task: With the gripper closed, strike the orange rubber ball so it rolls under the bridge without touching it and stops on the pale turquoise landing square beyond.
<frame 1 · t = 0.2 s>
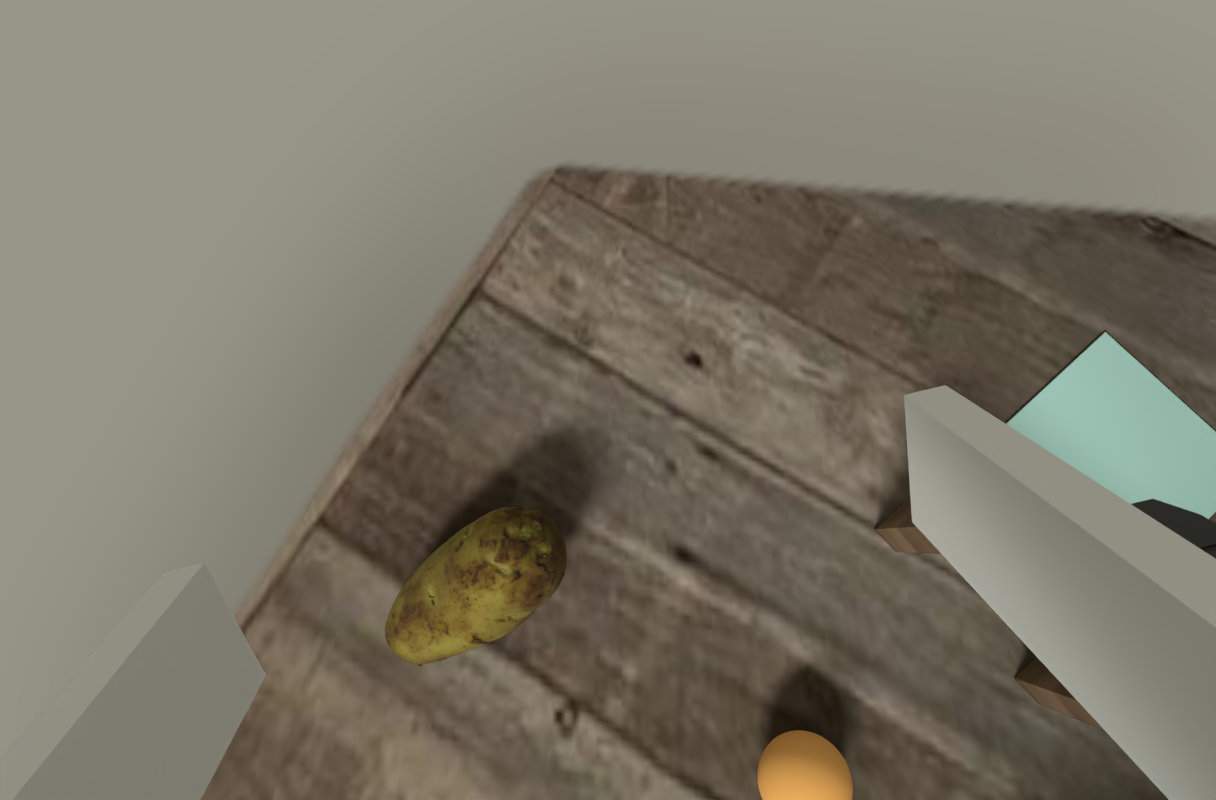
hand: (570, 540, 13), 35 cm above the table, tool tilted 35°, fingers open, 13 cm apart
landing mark: (1113, 460, 46), on the table
bridge: (969, 598, 45), on the table
potato: (487, 580, 47), on the table
ball: (804, 780, 41), on the table
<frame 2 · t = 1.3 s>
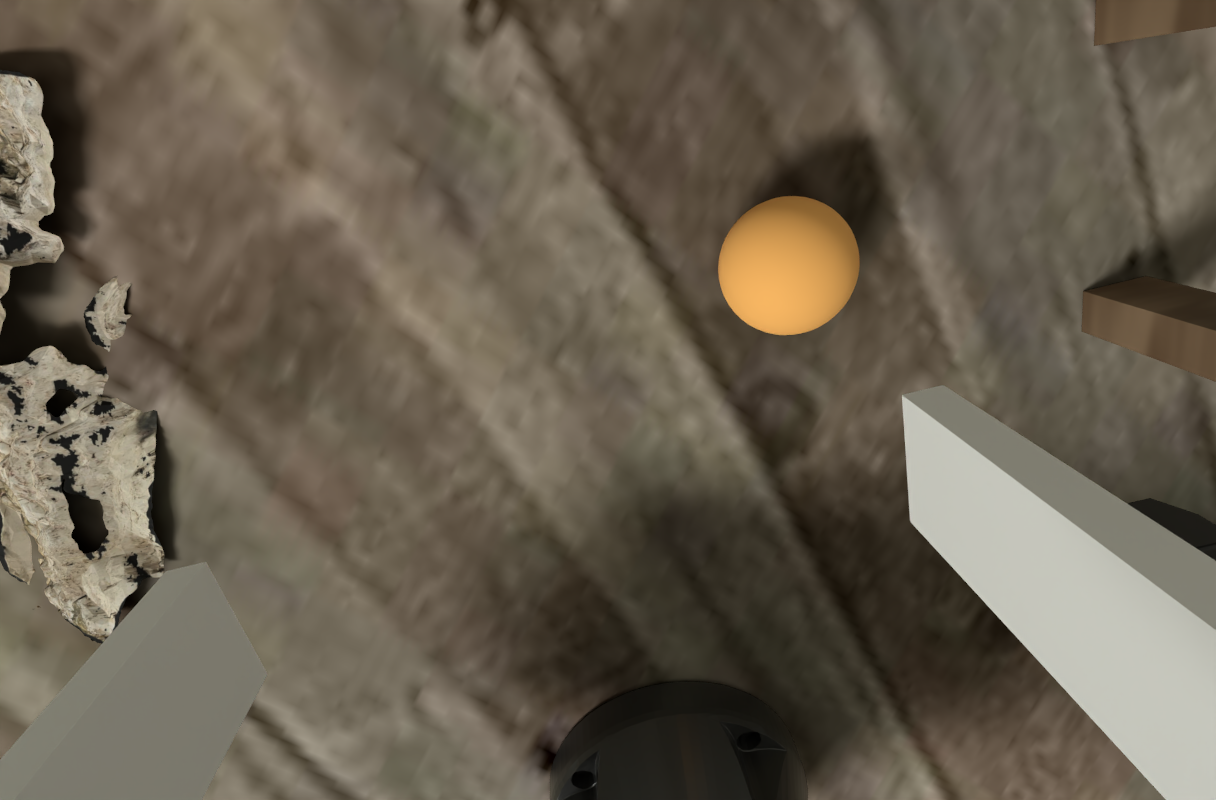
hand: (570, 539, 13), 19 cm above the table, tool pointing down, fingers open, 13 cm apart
bridge: (1121, 168, 30), on the table
driftwood: (68, 379, 30), on the table
ball: (787, 266, 27), on the table
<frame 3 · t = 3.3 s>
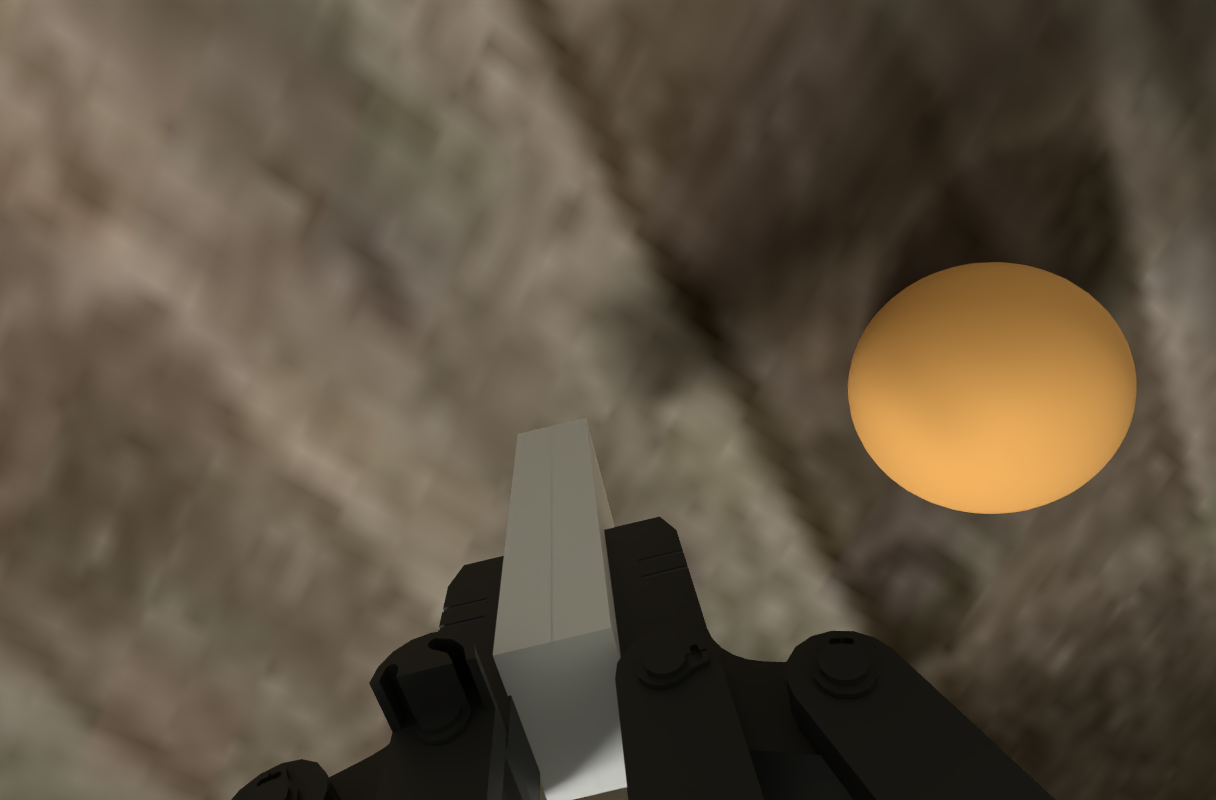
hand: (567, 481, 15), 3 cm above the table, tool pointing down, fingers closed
ball: (979, 388, 15), on the table
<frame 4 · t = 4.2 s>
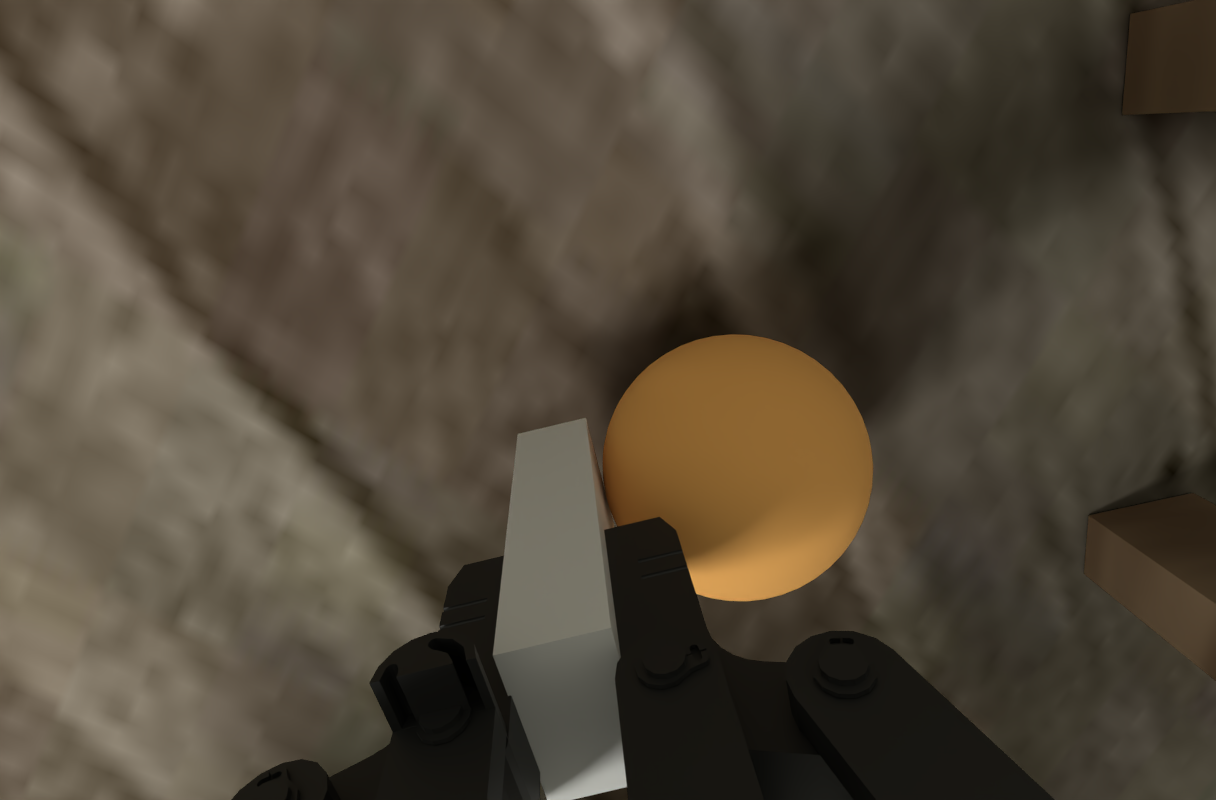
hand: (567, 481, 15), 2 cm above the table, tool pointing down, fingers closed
bridge: (1161, 325, 17), on the table
ball: (732, 465, 14), on the table
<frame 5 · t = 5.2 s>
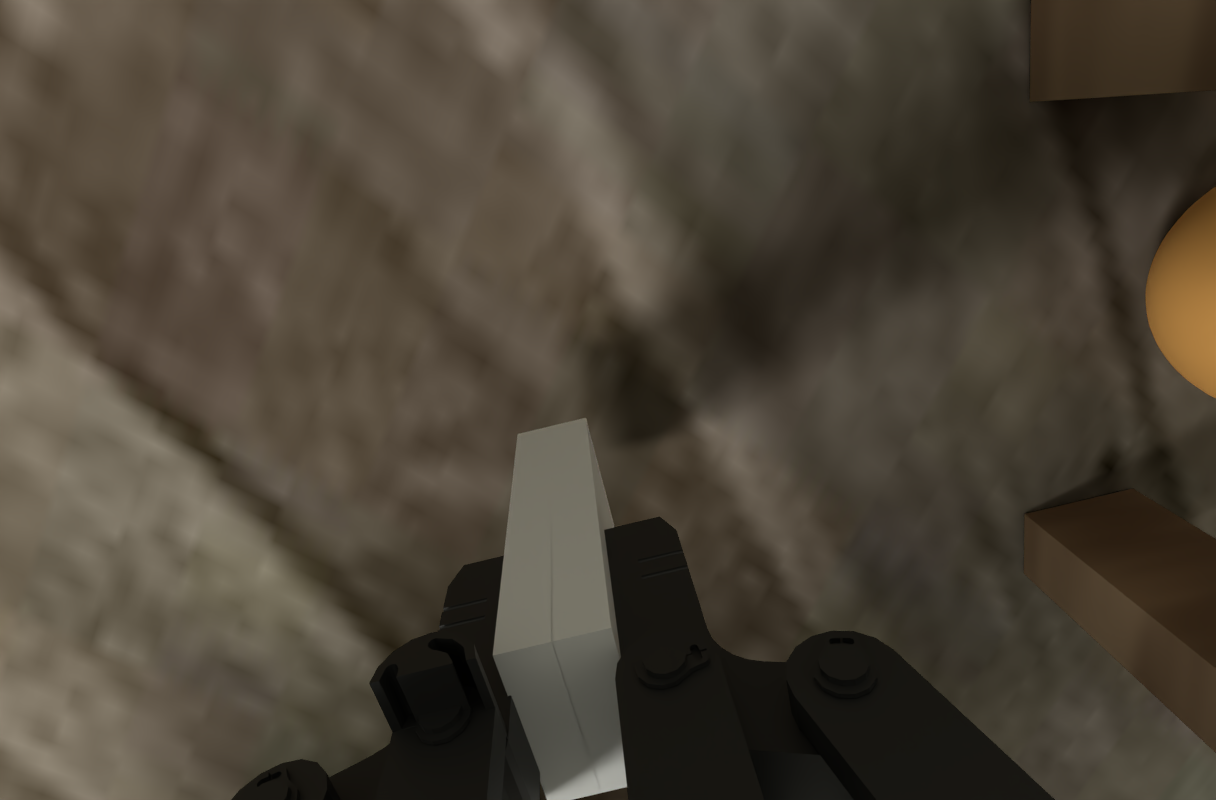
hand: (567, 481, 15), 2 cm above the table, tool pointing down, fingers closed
bridge: (1087, 318, 16), on the table
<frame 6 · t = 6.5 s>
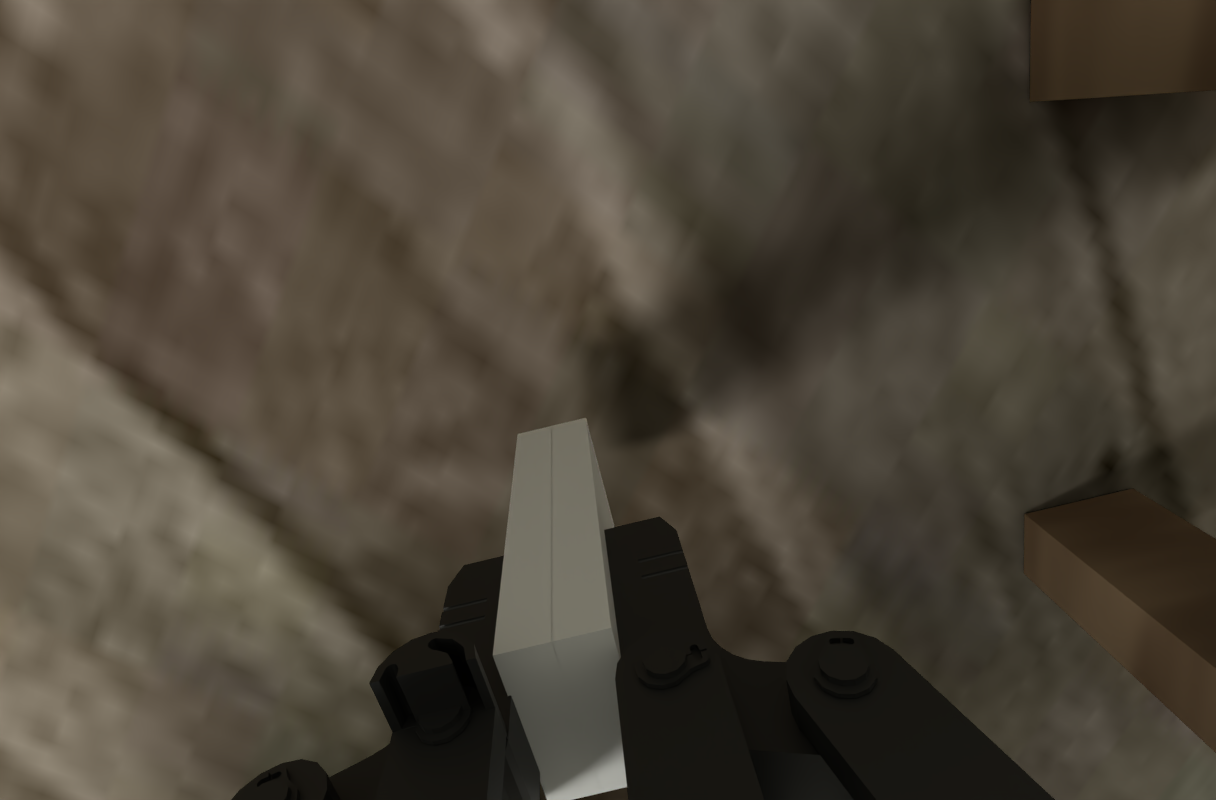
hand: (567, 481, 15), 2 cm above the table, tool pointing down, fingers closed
bridge: (1087, 318, 16), on the table
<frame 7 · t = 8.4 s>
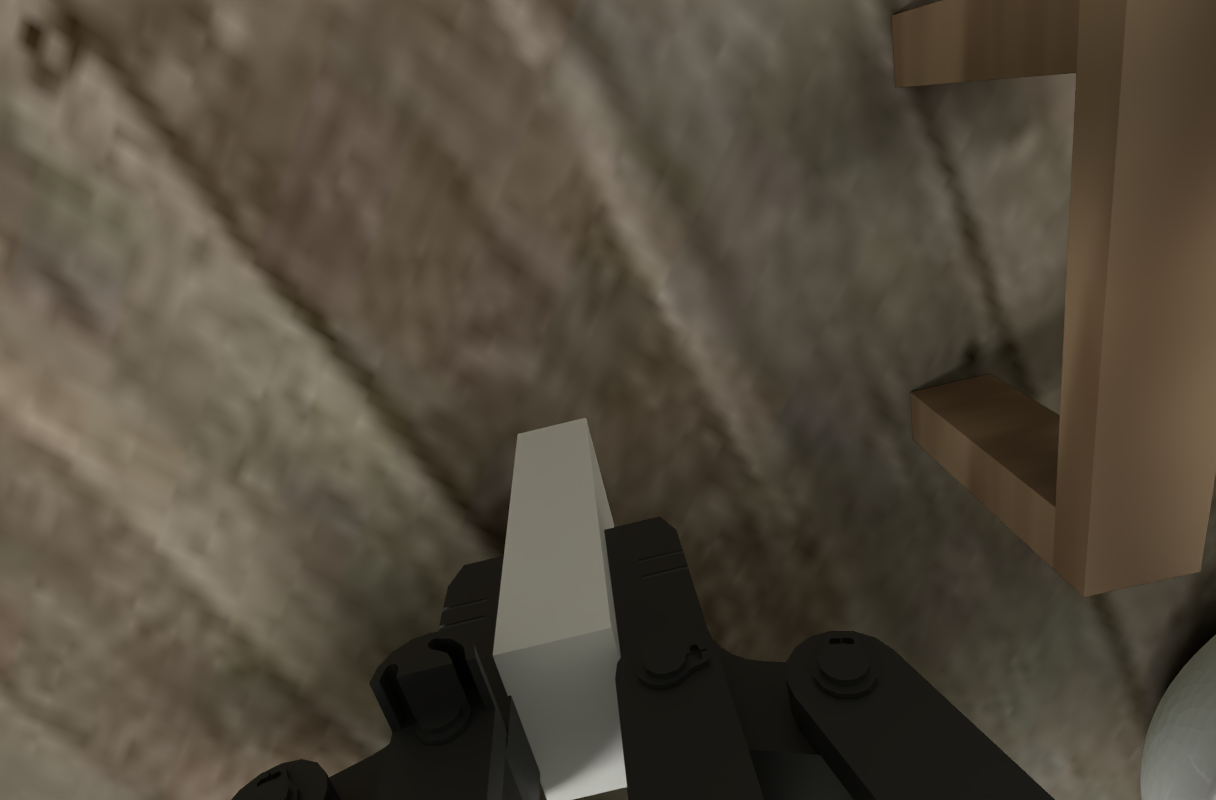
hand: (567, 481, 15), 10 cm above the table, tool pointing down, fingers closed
bridge: (947, 243, 23), on the table
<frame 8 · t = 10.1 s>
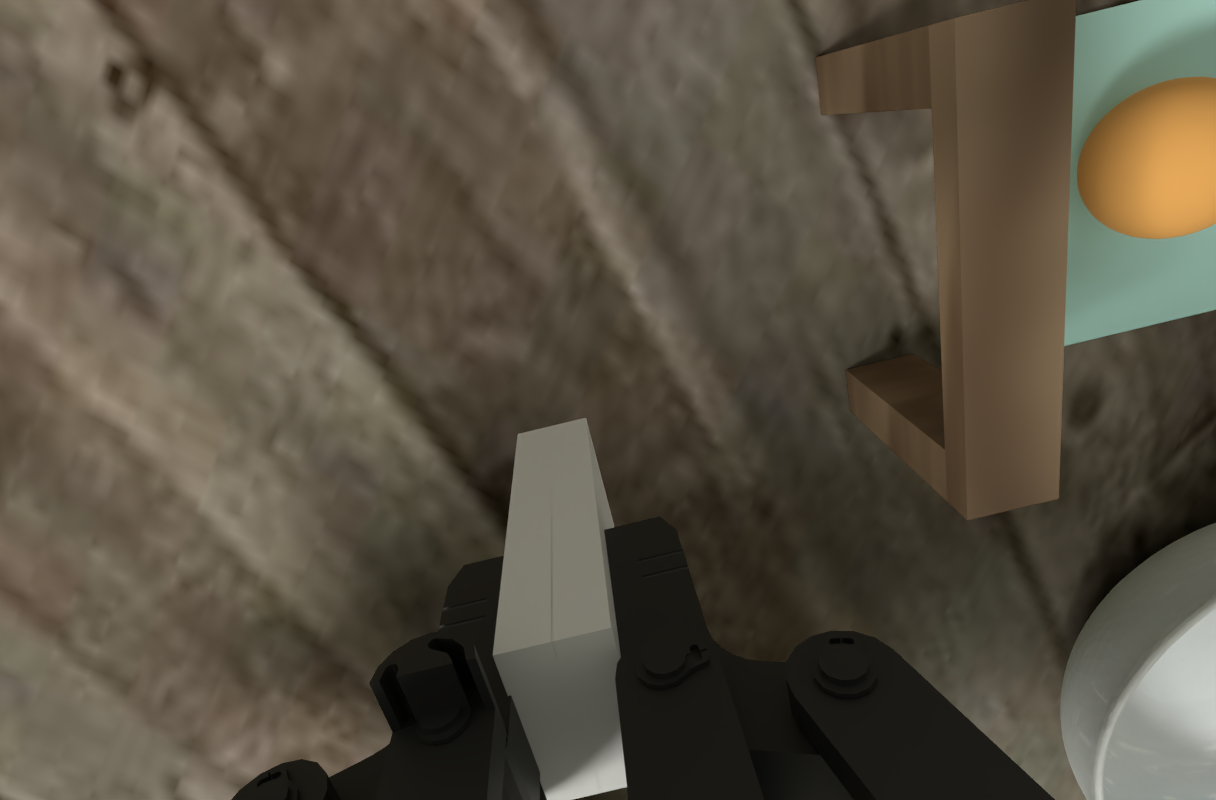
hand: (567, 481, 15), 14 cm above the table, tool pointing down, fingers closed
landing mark: (1208, 160, 27), on the table
bridge: (870, 242, 27), on the table
serving bowl: (1186, 623, 37), on the table
ball: (1169, 160, 24), on the table
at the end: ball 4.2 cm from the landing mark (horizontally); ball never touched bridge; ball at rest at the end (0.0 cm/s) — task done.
